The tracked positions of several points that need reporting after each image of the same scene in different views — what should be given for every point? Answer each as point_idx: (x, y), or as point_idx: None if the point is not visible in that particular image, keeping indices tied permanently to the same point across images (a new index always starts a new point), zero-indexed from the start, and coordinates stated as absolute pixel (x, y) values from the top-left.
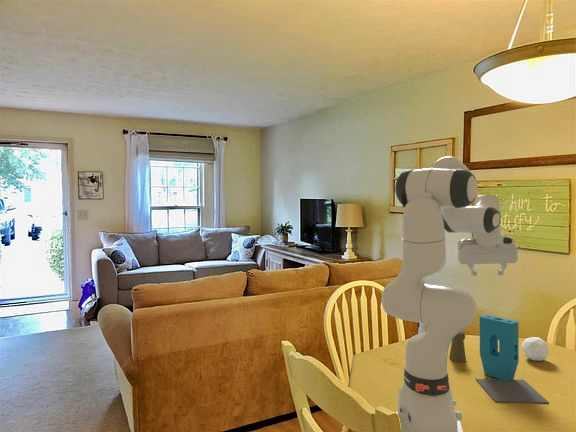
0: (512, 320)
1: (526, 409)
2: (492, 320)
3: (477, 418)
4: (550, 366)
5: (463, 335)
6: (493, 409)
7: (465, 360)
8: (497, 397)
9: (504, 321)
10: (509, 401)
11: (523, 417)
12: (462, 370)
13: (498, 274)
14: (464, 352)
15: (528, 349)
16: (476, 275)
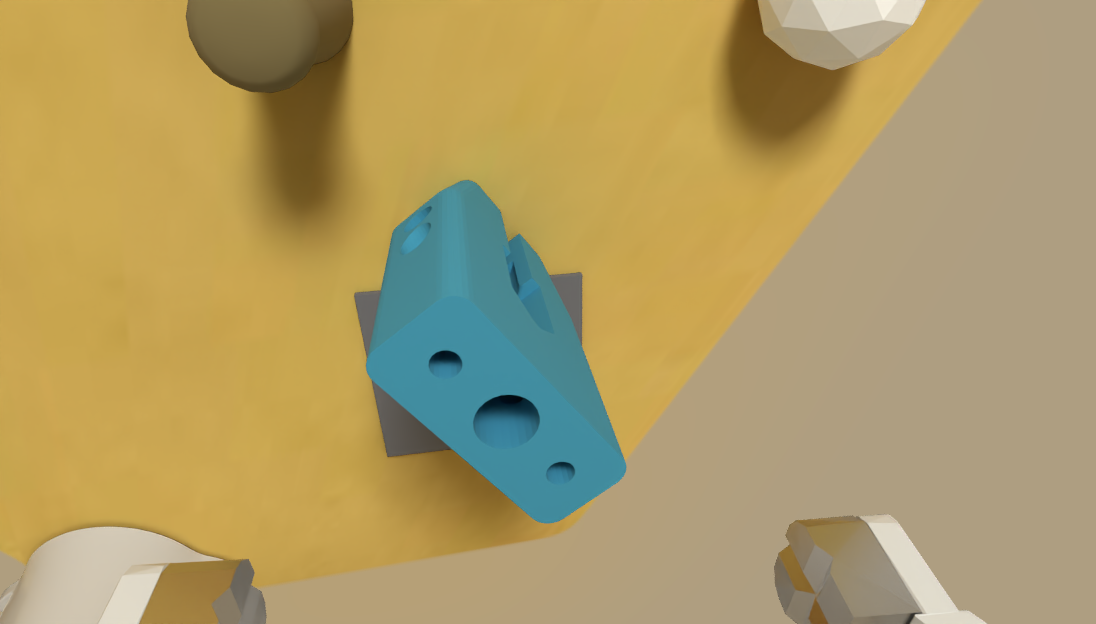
0: (601, 443)
1: (482, 475)
2: (449, 443)
3: (300, 545)
4: (819, 79)
5: (296, 79)
6: (367, 493)
7: (345, 42)
8: (404, 433)
9: (525, 480)
10: (440, 450)
11: (451, 516)
12: (303, 191)
13: (791, 541)
14: (331, 45)
15: (773, 30)
16: (263, 619)
